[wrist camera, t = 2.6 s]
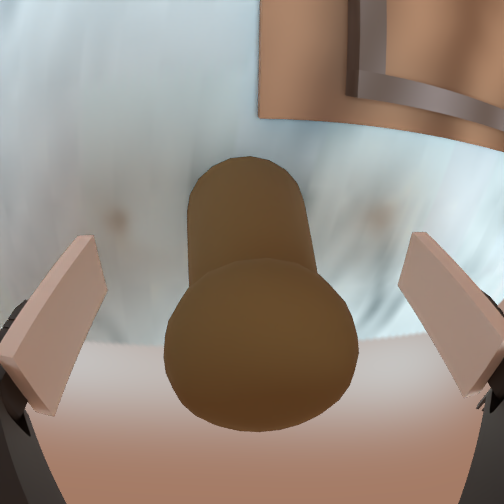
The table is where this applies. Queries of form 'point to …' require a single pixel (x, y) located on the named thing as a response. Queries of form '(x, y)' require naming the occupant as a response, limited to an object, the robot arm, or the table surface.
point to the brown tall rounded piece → (256, 306)
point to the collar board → (386, 65)
